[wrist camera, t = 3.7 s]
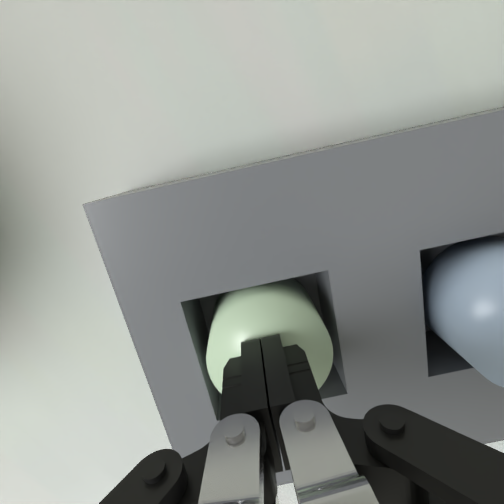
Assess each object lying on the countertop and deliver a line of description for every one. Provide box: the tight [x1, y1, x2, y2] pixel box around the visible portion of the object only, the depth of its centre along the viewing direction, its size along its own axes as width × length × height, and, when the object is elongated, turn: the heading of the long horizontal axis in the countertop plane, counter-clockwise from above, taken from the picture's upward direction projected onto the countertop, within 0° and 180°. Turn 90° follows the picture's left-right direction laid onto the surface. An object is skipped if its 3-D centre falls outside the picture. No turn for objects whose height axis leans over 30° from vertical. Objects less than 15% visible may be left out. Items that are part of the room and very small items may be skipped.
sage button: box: [206, 278, 333, 394], centre depth 14 cm, size 5×5×3 cm
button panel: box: [83, 107, 504, 486], centre depth 14 cm, size 28×14×4 cm, turn 102°
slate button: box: [422, 235, 504, 387], centre depth 12 cm, size 5×5×3 cm
